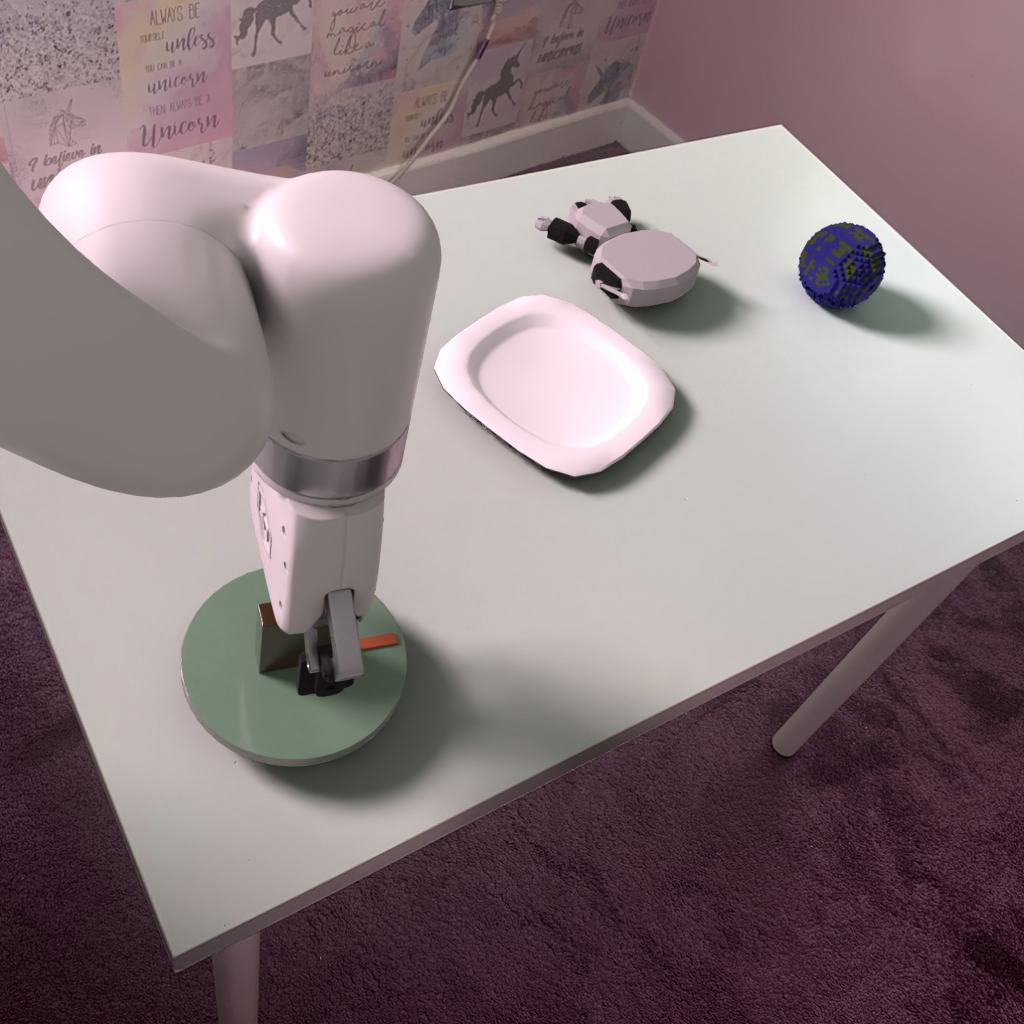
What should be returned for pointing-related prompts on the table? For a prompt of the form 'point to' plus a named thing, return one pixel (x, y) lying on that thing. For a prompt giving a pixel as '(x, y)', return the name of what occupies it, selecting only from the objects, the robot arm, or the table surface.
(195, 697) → the turntable plate
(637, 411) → the plate
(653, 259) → the robot toy
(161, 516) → the table surface
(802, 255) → the ball
